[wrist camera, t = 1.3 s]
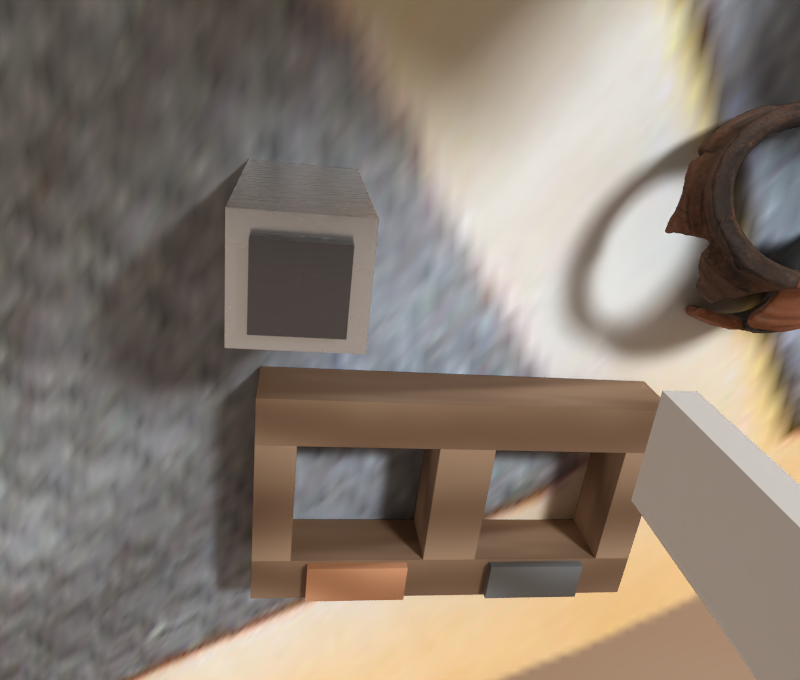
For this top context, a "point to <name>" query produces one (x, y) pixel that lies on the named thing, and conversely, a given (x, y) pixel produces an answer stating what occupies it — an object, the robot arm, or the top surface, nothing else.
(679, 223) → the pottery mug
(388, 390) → the socket board
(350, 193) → the plug
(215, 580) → the top surface
